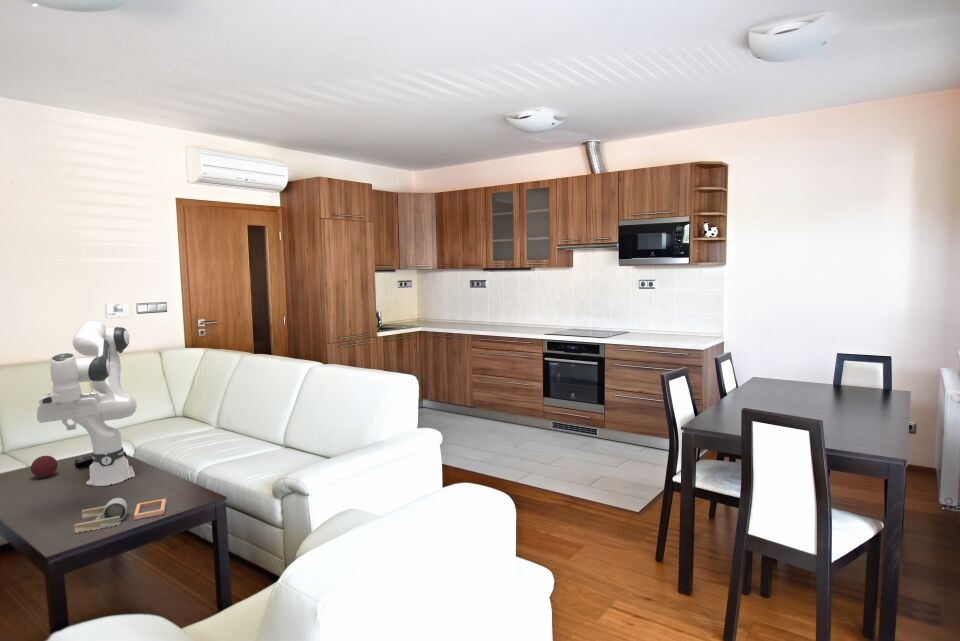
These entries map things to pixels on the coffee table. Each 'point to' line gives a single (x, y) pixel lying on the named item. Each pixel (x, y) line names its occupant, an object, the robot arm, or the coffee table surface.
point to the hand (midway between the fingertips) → (71, 429)
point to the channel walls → (97, 523)
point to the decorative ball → (44, 466)
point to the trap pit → (150, 509)
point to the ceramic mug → (114, 509)
